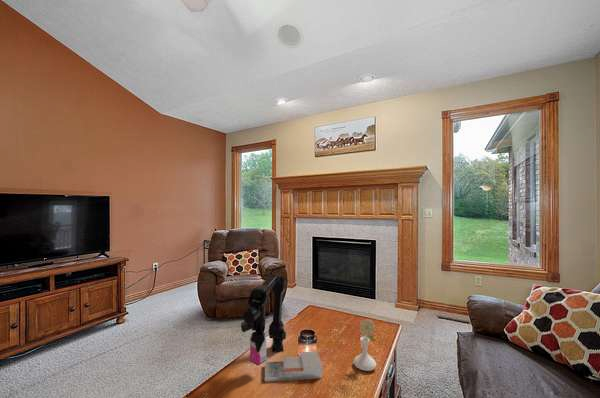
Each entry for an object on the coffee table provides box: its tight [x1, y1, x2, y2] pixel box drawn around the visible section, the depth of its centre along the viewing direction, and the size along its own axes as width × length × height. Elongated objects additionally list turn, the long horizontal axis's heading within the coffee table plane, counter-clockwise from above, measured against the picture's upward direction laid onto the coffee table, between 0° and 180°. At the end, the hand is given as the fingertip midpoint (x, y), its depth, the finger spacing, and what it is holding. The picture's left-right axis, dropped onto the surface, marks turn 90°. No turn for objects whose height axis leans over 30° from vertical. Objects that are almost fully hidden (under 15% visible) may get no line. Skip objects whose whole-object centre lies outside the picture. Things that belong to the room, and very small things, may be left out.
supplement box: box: [249, 335, 267, 366], centre depth 127 cm, size 6×6×12 cm
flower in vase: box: [353, 318, 377, 372], centre depth 134 cm, size 13×11×25 cm
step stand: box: [264, 351, 323, 383], centre depth 129 cm, size 12×27×6 cm, turn 97°
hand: (258, 347), depth 127 cm, fingers closed on supplement box, 8 cm apart
